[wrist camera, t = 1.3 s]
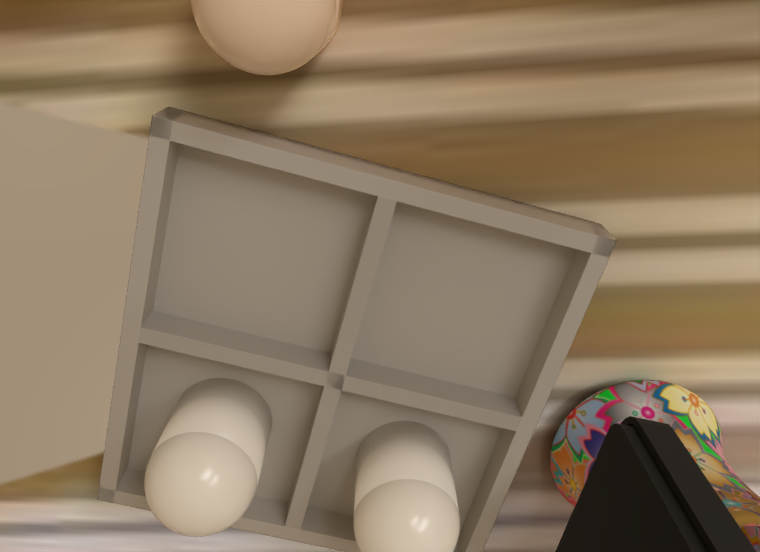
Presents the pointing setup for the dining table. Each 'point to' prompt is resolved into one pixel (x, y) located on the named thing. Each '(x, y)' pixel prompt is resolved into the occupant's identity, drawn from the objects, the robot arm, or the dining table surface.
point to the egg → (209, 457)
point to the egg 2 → (405, 491)
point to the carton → (340, 318)
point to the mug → (660, 404)
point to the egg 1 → (267, 31)
